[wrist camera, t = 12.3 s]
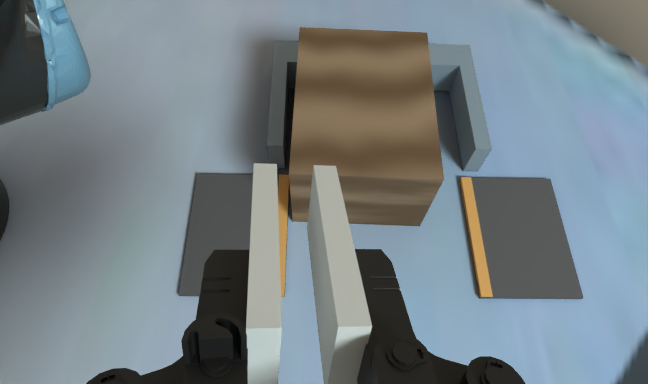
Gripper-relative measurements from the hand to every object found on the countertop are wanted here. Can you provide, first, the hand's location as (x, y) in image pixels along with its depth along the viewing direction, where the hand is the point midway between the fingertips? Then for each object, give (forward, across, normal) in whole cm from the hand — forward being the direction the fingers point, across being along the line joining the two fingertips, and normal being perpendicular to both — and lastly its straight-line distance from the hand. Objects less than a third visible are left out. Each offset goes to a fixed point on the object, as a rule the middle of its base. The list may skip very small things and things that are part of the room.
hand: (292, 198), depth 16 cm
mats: (+19, +10, -18) cm, 28 cm away
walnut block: (+27, +9, -14) cm, 32 cm away
